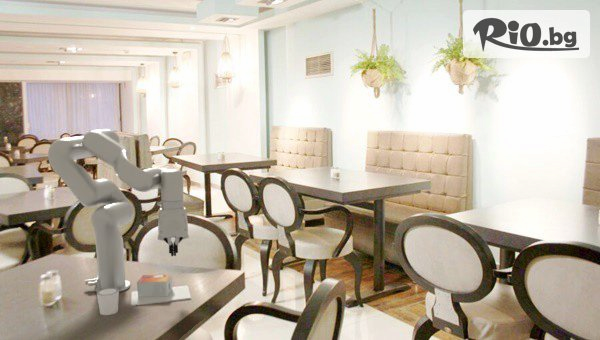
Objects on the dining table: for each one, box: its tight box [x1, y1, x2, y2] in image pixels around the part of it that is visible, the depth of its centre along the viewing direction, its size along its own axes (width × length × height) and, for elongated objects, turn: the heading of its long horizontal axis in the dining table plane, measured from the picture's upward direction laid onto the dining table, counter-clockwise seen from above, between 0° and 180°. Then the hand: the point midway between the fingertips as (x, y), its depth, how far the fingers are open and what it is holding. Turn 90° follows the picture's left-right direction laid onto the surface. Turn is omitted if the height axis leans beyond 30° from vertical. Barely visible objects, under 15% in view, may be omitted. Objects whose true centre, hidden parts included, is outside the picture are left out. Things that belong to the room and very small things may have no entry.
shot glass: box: [96, 288, 120, 316], centre depth 173 cm, size 7×7×7 cm
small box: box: [136, 274, 173, 297], centre depth 188 cm, size 8×6×10 cm
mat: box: [130, 285, 192, 307], centre depth 187 cm, size 20×13×1 cm, turn 107°
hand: (173, 254), depth 187 cm, fingers closed
